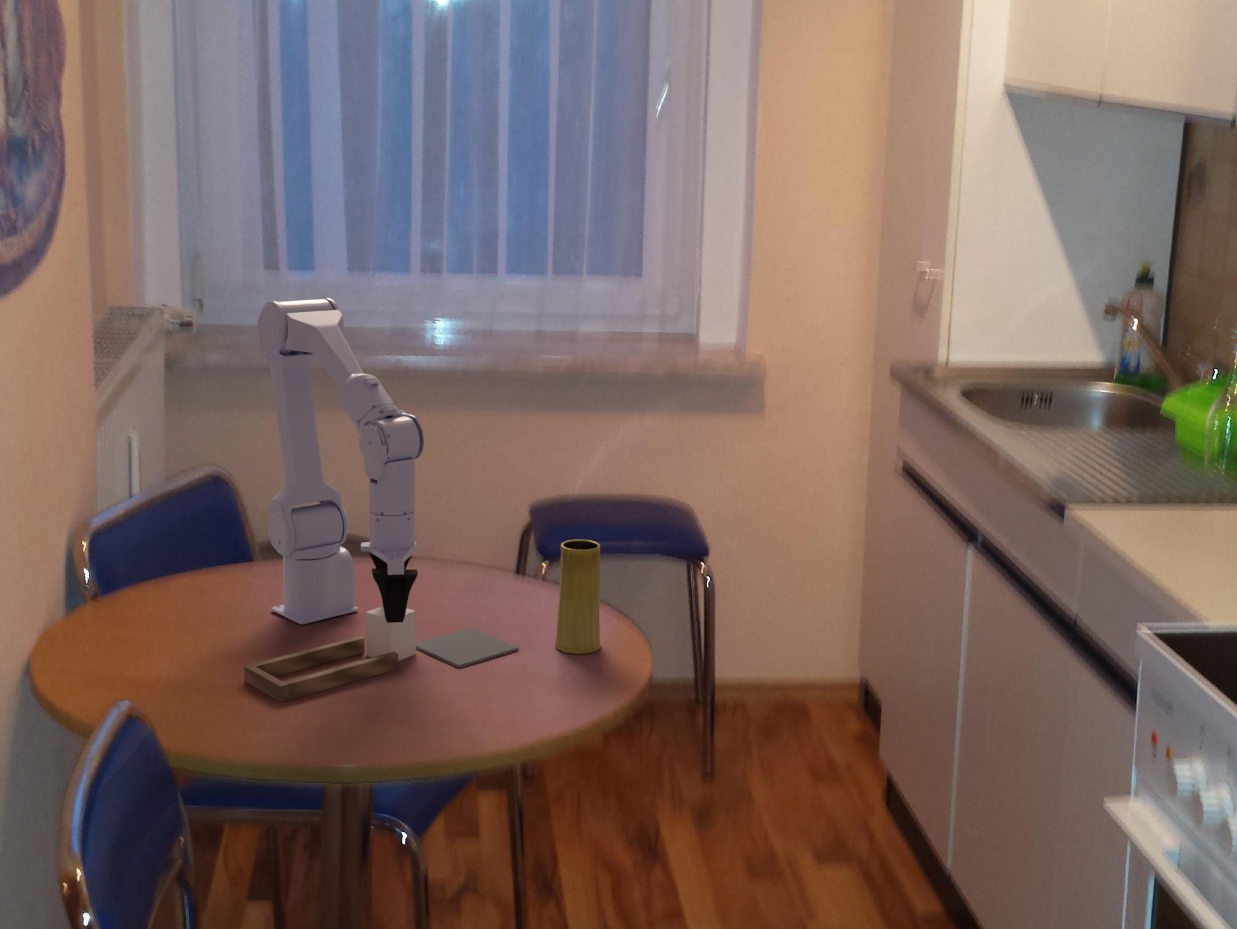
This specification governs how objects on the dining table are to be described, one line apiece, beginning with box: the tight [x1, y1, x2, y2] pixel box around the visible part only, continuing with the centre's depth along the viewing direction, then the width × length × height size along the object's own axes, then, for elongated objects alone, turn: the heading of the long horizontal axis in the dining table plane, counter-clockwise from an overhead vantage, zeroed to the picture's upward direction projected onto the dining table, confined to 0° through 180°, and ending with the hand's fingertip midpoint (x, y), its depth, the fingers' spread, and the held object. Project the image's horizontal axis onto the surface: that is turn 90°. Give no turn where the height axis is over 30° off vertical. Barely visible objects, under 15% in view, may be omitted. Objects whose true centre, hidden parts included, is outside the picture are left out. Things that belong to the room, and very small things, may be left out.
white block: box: [365, 605, 417, 662], centre depth 185 cm, size 4×4×6 cm
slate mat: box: [416, 627, 520, 669], centre depth 189 cm, size 10×10×1 cm
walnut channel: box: [243, 635, 399, 703], centre depth 178 cm, size 17×8×2 cm, turn 134°
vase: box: [554, 538, 602, 655], centre depth 189 cm, size 6×6×14 cm
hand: (393, 611), depth 184 cm, fingers open, 7 cm apart
